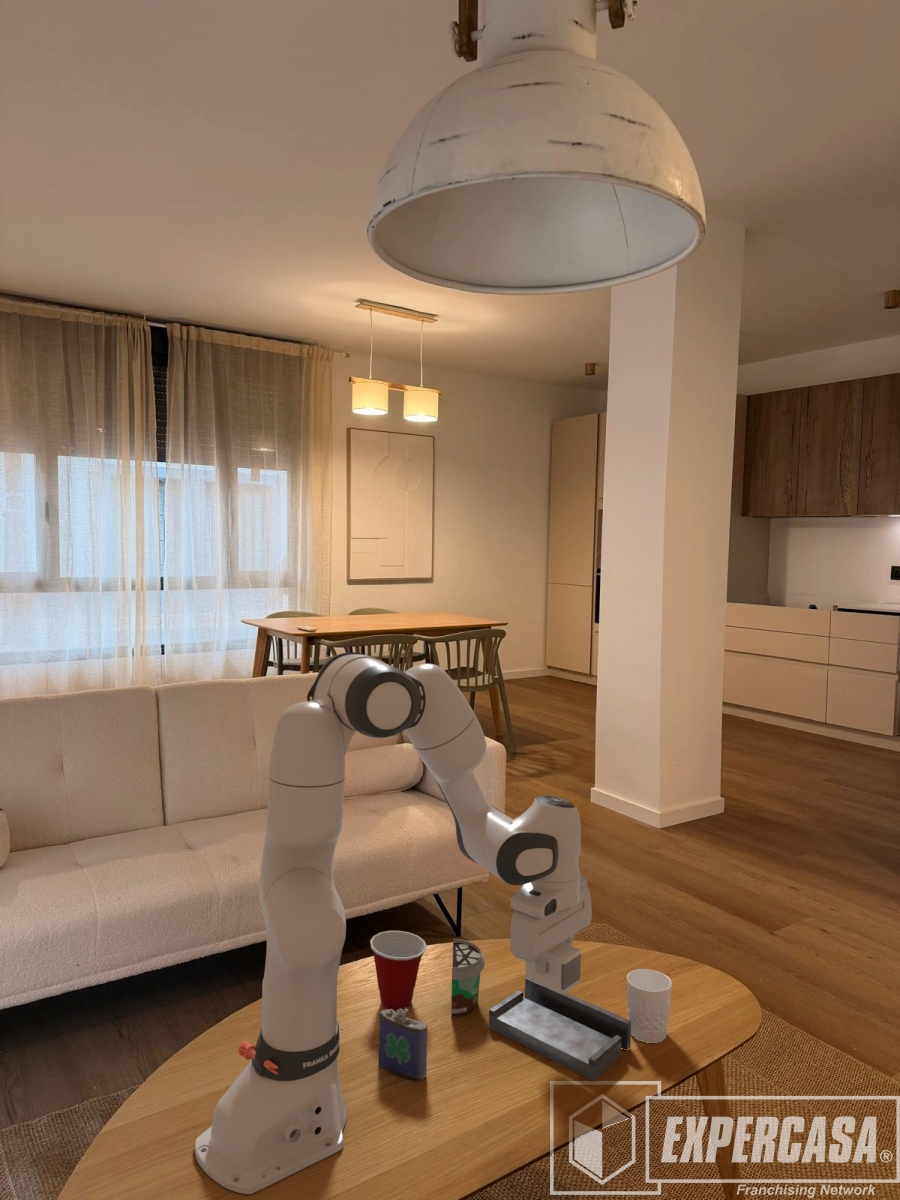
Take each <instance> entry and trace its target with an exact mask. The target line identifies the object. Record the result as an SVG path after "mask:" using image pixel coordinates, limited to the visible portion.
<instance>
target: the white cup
mask: <svg viewBox="0 0 900 1200" xmlns="http://www.w3.org/2000/svg"><path fill="white" fill-rule="evenodd" d="M672 985H673V982H672V980H671V978H670V977H669V976H668V975H666V974H664V973H663V972H660V971H657V970H655V969H650V968H637V969H633V970H631V971H630V972H629V973H628V974H627V976H626V988H627V989H626V991H627V992H626V993H627V994H626V998H627V999H626V1004H627V1016H628V1018H627V1019H628V1020H630V1021H631V1035H632V1036H634V1037H635V1038H637V1039H639V1040H642V1041H645V1042H649V1043H650V1042H651V1043H656V1044H658V1043H657V1042H661V1043H662V1041H663V1040H664V1039H665V1040H666V1039H667V1034H668V1024H669V1022H670V1021H669V1019H670V1010H671V1000H672V988H673V987H672ZM632 1036H631V1037H632ZM635 1038H634V1039H635ZM665 1040H664V1041H665ZM664 1041H663V1042H664Z"/></svg>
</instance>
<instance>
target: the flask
mask: <svg viewBox="0 0 900 1200" xmlns="http://www.w3.org/2000/svg"><path fill="white" fill-rule="evenodd" d="M408 1012H409V1009H408V1008H405V1009H399V1010H397V1011H394V1010H393V1009H386V1008H384V1009H382V1010H381V1011H380V1013H379V1029H378V1030H379V1037H378V1038H379V1039H378V1040H379V1042H378V1067H379V1068H381V1069H383V1070H385V1071H386V1072H387V1073H389V1074H392V1075H395V1076H398V1077H401V1078H403V1079H406V1080H408V1081H409V1080H410V1081H413V1082H419V1083H421V1082H424V1081H425V1080H426V1078H427V1073H428V1070H427V1063H428V1062H427V1056H428V1053H427V1049H428V1045H427V1044H428V1043H427V1042H428V1031H429V1030H428V1025H427V1023H426V1022H424V1021H420V1020H416V1019H413V1018H409V1017H407V1016H408V1014H407V1013H408Z"/></svg>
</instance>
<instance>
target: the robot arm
mask: <svg viewBox="0 0 900 1200" xmlns="http://www.w3.org/2000/svg"><path fill="white" fill-rule="evenodd" d="M306 695H307V696H306V698H307V699H306V700H307V701H301V702H298V703H297V702H296V703H294V704H292V705H290V706H288V707H287V708H286V709H284V710H283V711H282V713H281V714H280V716H279V717H278V721H277V725H276V728H275V732H274V736H273V737H274V738H273V741H272V747H271V748H272V749H271V753H270V763H269V772H268V775H269V776H268V791H267V792H268V794H267V795H268V796H267V810H266V811H267V814H266V815H267V816H266V817H267V818H266V830H265V831H266V832H265V839H264V842H263V850H262V856H261V857H262V858H261V865H260V866H261V867H260V876H259V887H258V898H259V901H260V902H259V903H260V906H261V907H260V908H261V910H262V915H263V920H264V925H265V933H266V952H265V953H266V955H265V966H264V973H263V974H264V975H263V979H262V983H261V984H262V988H261V989H262V992H261V993H262V996H261V999H262V1002H261V1003H262V1007H261V1008H262V1009H261V1010H262V1012H261V1014H262V1015H261V1017H262V1020H261V1023H262V1026H261V1029H260V1030H259V1033H258V1037H257V1040H256V1042H255V1043H256V1044H255V1045H253V1044H251V1042H250V1041H249V1040H244V1041H242V1042H241V1043H240V1044H239V1046H238V1049H237V1053H238V1055H240V1056H241V1057H243V1058H244V1060H247V1061H249V1060H251V1061H250V1062H249V1063H248V1065H246V1067H245V1068H244V1069H243V1070H242V1072H241V1073H240V1074H239V1076H238V1077H237V1078H236V1079H235V1081H234V1082H233V1083H232V1085H230V1087H229V1088H228V1089H227V1091H226V1092H225V1093H224V1094H223V1095H222V1096H221V1098H220V1099H219V1100H218V1102H217V1103H216V1106H215V1109H214V1111H213V1115H212V1122H211V1126H209V1127H208V1128H207V1129H206V1130H205V1131H203V1132H202V1133H201V1134H200V1135H198V1136H197V1137H196V1139H195V1141H194V1156H195V1159H196V1161H197V1163H198V1165H199V1166H200V1167H201V1169H202V1168H203V1169H202V1171H204V1172H205V1173H206V1174H207V1175H208V1177H209V1178H211V1179H212V1180H214V1182H216V1183H217V1184H219V1186H222V1187H223V1188H226V1189H227V1190H229V1191H232V1192H236V1193H238V1194H245V1195H252V1194H254V1193H256V1192H258V1191H261V1190H263V1189H265V1188H267V1187H268V1186H271V1185H273V1184H275V1183H277V1182H279V1181H281V1180H283V1179H285V1178H287V1177H289V1176H292V1175H293V1174H295V1173H297V1172H299V1171H302V1170H304V1169H305V1168H308V1167H309V1166H311V1165H313V1164H315V1163H318V1162H319V1161H322V1160H324V1159H325V1158H327V1157H329V1156H332V1155H334V1154H336V1153H337V1152H339V1151H341V1150H342V1149H343V1147H344V1144H345V1143H344V1133H343V1130H344V1127H345V1125H346V1122H347V1115H348V1114H347V1109H346V1106H345V1103H344V1100H343V1093H342V1089H341V1085H340V1084H341V1083H340V1078H339V1067H338V1056H339V1054H340V1044H341V1043H340V1025H339V1023H338V1021H337V1020H338V1019H337V1017H338V1016H337V1015H338V1012H337V1011H338V1005H337V1004H338V977H339V969H340V963H341V957H342V951H343V947H344V945H345V941H346V937H347V935H346V934H347V921H346V919H347V918H346V911H345V907H344V905H343V902H342V899H341V897H340V896H339V894H338V891H337V890H336V889H337V888H336V887H335V886H336V885H335V881H334V876H333V864H334V859H335V858H334V857H335V853H336V846H337V843H338V839H339V836H340V835H341V833H342V828H343V816H344V815H343V813H344V797H345V794H344V793H345V774H346V755H347V751H348V747H349V744H350V742H351V740H352V738H353V737H354V736H355V734H356V733H357V732H358V733H359V734H361V735H362V736H366V737H368V738H374V739H385V738H390V737H394V736H396V735H398V734H401V733H402V732H404V731H405V732H406V735H407V737H408V739H409V741H410V743H411V744H412V747H413V749H414V750H415V751H416V753H417V755H418V757H419V758H420V759H421V761H422V762H423V763H424V765H425V767H426V768H427V770H428V771H429V772H430V773H431V774H432V776H433V777H434V780H435V782H436V784H437V785H438V788H439V789H440V792H441V794H442V796H443V798H444V800H445V802H446V804H447V806H448V808H449V810H450V812H451V814H452V816H453V817H452V818H453V819H454V825H455V832H456V833H455V835H456V841H457V846H458V848H459V850H460V852H461V853H462V854H463V856H464V857H466V858H467V859H468V860H470V861H471V862H474V863H476V864H478V865H479V866H481V868H482V867H483V868H484V869H485V870H487V872H490V874H492V875H494V876H495V877H496V878H498V879H500V880H501V881H502V882H504V883H507V884H508V885H512V886H521V887H520V888H519V889H518V890H517V891H516V892H515V893H514V894H513V895H512V896H511V899H510V907H511V909H513V910H514V912H513V914H512V916H511V922H510V951H511V954H512V955H513V957H515V958H516V959H518V960H521V961H523V962H525V963H526V962H531V961H533V960H534V961H535V963H536V973H538V974H540V975H544V974H546V973H547V972H548V971H549V969H548V968H549V963H547V962H545V959H544V957H545V956H546V952H547V951H548V950H550V949H552V948H553V947H555V946H556V945H558V944H560V943H561V942H562V943H565V944H567V945H570V946H572V945H573V943H574V940H575V934H577V933H578V932H580V931H582V930H583V929H585V928H586V927H588V926H590V923H591V921H592V918H593V915H592V913H593V910H592V897H591V896H592V895H591V892H590V889H589V887H588V879H587V878H586V877H585V876H583V875H582V874H581V870H580V866H579V858H580V857H579V856H580V854H581V850H582V849H581V847H582V830H581V828H582V826H581V818H580V812H579V810H578V807H577V806H576V805H575V804H574V803H572V802H570V801H568V800H567V799H564V798H561V797H557V796H552V795H540V796H536V797H535V798H534V800H533V803H532V804H531V805H530V807H528V808H527V810H525V811H524V812H523V813H522V814H521V815H519V816H517V817H516V818H512V817H510V816H508V815H506V814H505V813H504V812H502V811H501V810H499V808H497V807H495V806H494V805H492V804H490V803H489V802H488V801H487V799H486V798H485V795H484V793H483V791H482V789H481V787H480V785H479V783H478V781H477V779H476V777H475V775H474V773H473V771H475V769H476V768H478V767H479V765H480V764H481V762H482V761H483V759H484V758H485V757H484V756H485V754H486V750H487V747H488V746H487V742H486V741H487V739H486V737H485V734H484V731H483V728H482V725H481V723H480V721H479V720H478V717H477V716H476V714H475V712H474V710H473V709H472V707H471V704H469V701H468V700H467V698H466V697H465V695H464V694H463V692H462V690H461V689H460V687H458V685H457V684H456V683H455V681H454V680H453V678H452V677H451V676H450V675H449V674H448V673H447V672H446V670H444V668H442V667H441V666H440V665H438V664H433V663H422V664H421V663H420V664H416V665H414V666H412V667H410V668H408V669H406V670H405V671H402V670H401V669H399V668H396V667H395V666H392V665H390V664H387V663H386V662H384V661H383V660H381V659H380V658H377V657H373V656H371V655H366V654H362V653H359V652H353V651H352V652H350V651H347V652H342V653H339V654H336V655H334V656H332V657H331V658H329V659H328V660H327V661H326V662H325V663H324V664H323V665H322V666H321V668H320V669H319V671H318V674H317V675H316V678H315V681H314V683H312V685H311V687H310V689H309V691H308V692H307V694H306Z"/></svg>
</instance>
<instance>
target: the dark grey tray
mask: <svg viewBox="0 0 900 1200" xmlns="http://www.w3.org/2000/svg"><path fill="white" fill-rule="evenodd" d="M524 980H525V981H524V982H525V983H524V992H523V991H522V990H517V991H515V992H513V993H512V994H510V995H509V996H507V997H506V998H504V999H503V1000H501V1001H500V1002H498V1003H497V1004H495V1005H494V1006H493V1007H491V1008H489V1009H488V1011H489V1012H488V1029H490V1030H491V1031H493V1032H495V1033H498V1034H499V1035H502V1036H503V1037H506V1038H507V1039H509V1040H511V1041H513V1042H515V1043H517V1044H520V1045H522V1046H523V1047H524V1048H527V1049H528V1050H531V1051H533V1052H534V1053H537V1054H539V1055H541V1056H543V1057H544V1058H545V1059H549V1060H550V1061H553V1062H554V1063H557V1064H559V1065H560V1066H562V1067H564V1068H566V1069H568V1070H570V1071H571V1072H574V1073H576V1074H578V1075H579V1076H581V1077H584V1078H585V1079H588V1080H589V1081H592V1082H595V1081H596V1080H597V1079H598V1078H599V1077H600V1076H601V1075H603V1072H604V1071H605V1070H606V1069H607V1068H608V1067H609V1066H610V1067H612V1066H613V1065H614V1064H613V1063H614V1062H615V1061H616V1060H617V1061H618V1060H619V1059H621V1057H622V1049H621V1048H623V1049H626V1050H627V1049H628V1048H630V1049H631V1037H632V1036H631V1021H630V1020H628V1018H626V1017H624V1016H621V1015H618V1014H616V1013H614V1012H612V1011H609V1010H607V1009H605V1008H603V1007H601V1006H598V1005H596V1004H593V1003H591V1002H589V1001H587V1000H584V999H582V998H580V997H577V996H575V995H572V994H570V993H569V992H566V993H565V994H562V993H559V992H557V991H555V990H553V989H550V988H548V987H546V986H543V985H541V984H539V983H537V982H534V981H532V980H530V979H527V978H526V977H525V978H524ZM617 1061H616V1062H617ZM616 1062H615V1063H616ZM610 1067H609V1068H610ZM609 1068H608V1069H609ZM608 1069H607V1070H608ZM607 1070H606V1071H607ZM606 1071H605V1072H606Z"/></svg>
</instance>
